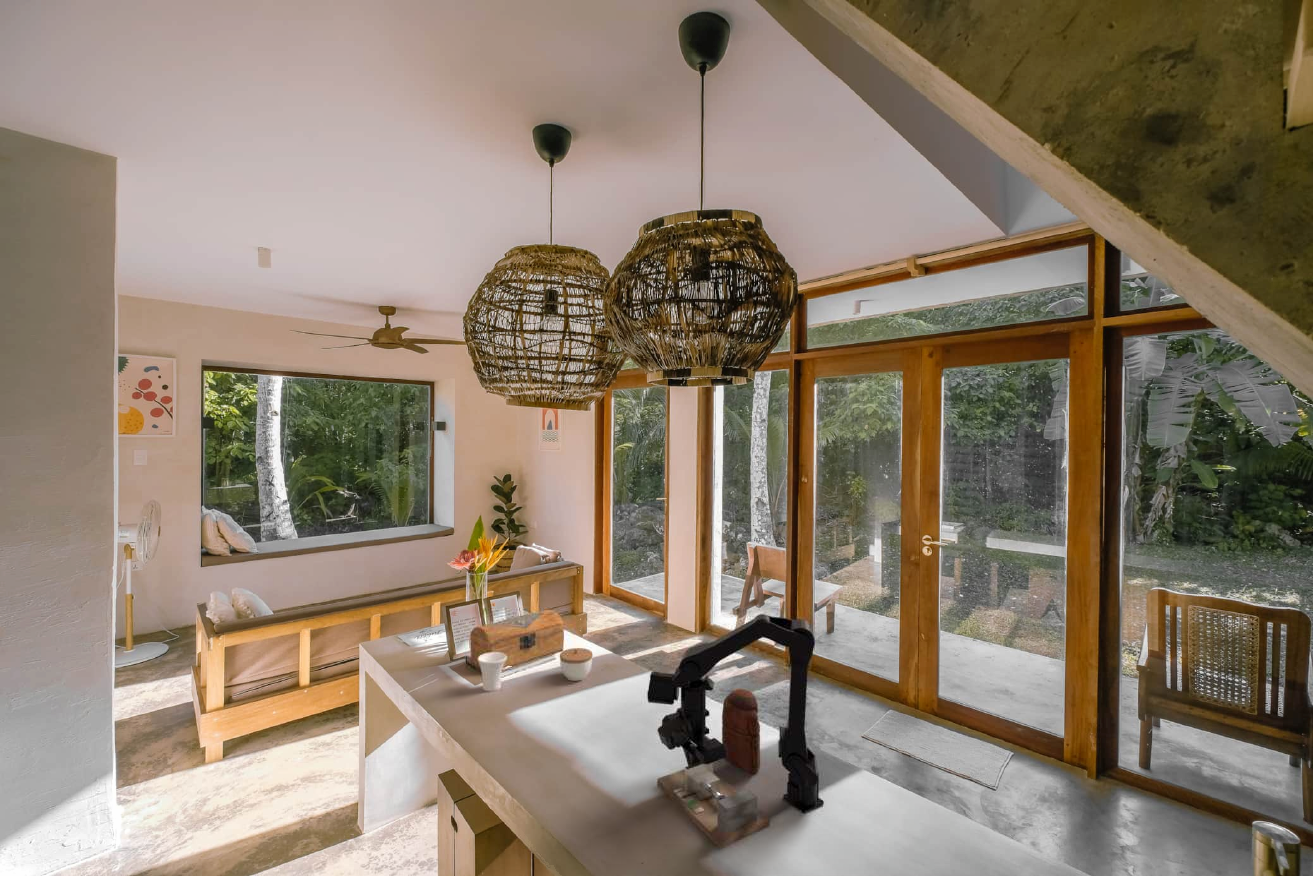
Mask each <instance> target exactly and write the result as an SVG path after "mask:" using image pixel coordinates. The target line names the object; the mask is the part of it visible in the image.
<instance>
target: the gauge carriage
mask: <svg viewBox="0 0 1313 876" xmlns="http://www.w3.org/2000/svg"><path fill="white" fill-rule="evenodd" d="M713 767H714V762H713V763H710V764H703V763H702V762H699V763H696V764H693V765H690V766H688V765H687V766H685V767H684V769H685V790H686V791H687V792H688V791H690V790H691V791H692V793H689V794H686V795H683V796H682V797H683V798H687V797H689V796H692V795H694V794H695V795H696V796H697V797H698V798H700V799H701V800H702V799H705V798H708V797H710V796H714V797H715V798H716V799H717V802H718V801H719V800H721V799H724V798H726V797H725V796H724V795H723V794H721V795H720V794H719V793H720V779H719V778H717V777H716V776H715V775H714V774H713V771H714V768H713Z"/></svg>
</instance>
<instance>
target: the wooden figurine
mask: <svg viewBox="0 0 1313 876" xmlns="http://www.w3.org/2000/svg"><path fill="white" fill-rule="evenodd" d="M722 705H723V706H722V713H721V715H722V716H721V725H722V726H721V743H722V744H723V745H725V746H726V747H727V758H725V759H724V760H726V761H727V762H729V763H731V764H732V765H734V766H736V767H738V768H740V769H742V770H743V771H745V772H747V773H749V774H757V773H759V770H760V769H761V735H760V732H761V724H760V722H759V717H758V713H759V708H758V705H759V704H758V702H757V697H756V695H755V694H754V693H753V692H751V691H750V690H747V689H744V688H737V689H735V690H733V691H731V692H730V693H728V695H727V696H725V698H724V700H723V703H722Z"/></svg>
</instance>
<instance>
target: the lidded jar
mask: <svg viewBox="0 0 1313 876" xmlns="http://www.w3.org/2000/svg"><path fill="white" fill-rule="evenodd" d="M559 661H560V662H559V665H560V670H561V672H562V674H563V675H564V676H565V677H566V679H567V680H569V681H572V682H579V681H582V680H585V678H586V677H587V676H588V674H589V673H591V669H592V664H593V652H592V651H591V650H590V649H587V648H582V647H574V648H568V649H565V650H563V651H561V652H560V654H559Z"/></svg>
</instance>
